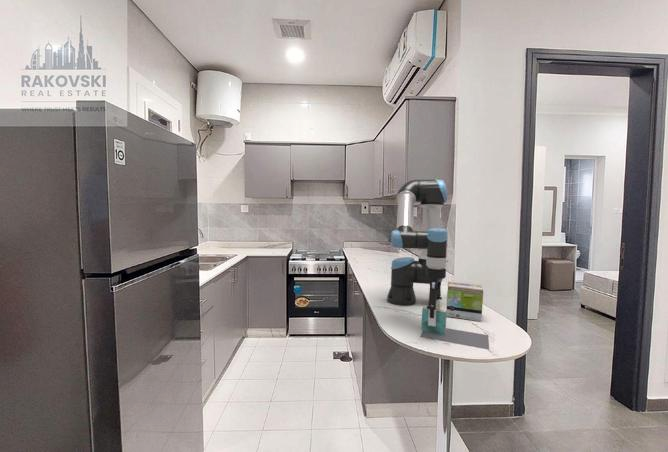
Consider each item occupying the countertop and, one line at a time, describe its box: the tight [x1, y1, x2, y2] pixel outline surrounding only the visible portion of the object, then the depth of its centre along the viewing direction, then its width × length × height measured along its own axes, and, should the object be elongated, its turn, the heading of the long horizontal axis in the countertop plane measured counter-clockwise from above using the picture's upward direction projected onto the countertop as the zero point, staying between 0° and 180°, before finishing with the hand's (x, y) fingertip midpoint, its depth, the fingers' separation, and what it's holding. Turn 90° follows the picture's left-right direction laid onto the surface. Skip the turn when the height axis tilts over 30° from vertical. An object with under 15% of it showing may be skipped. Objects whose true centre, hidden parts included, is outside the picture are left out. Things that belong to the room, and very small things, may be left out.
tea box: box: [446, 281, 484, 322], centre depth 148 cm, size 15×10×15 cm
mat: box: [419, 327, 490, 350], centre depth 124 cm, size 24×14×1 cm, turn 65°
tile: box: [421, 306, 447, 335], centre depth 128 cm, size 9×3×9 cm, turn 65°
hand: (434, 320), depth 127 cm, fingers open, 12 cm apart
